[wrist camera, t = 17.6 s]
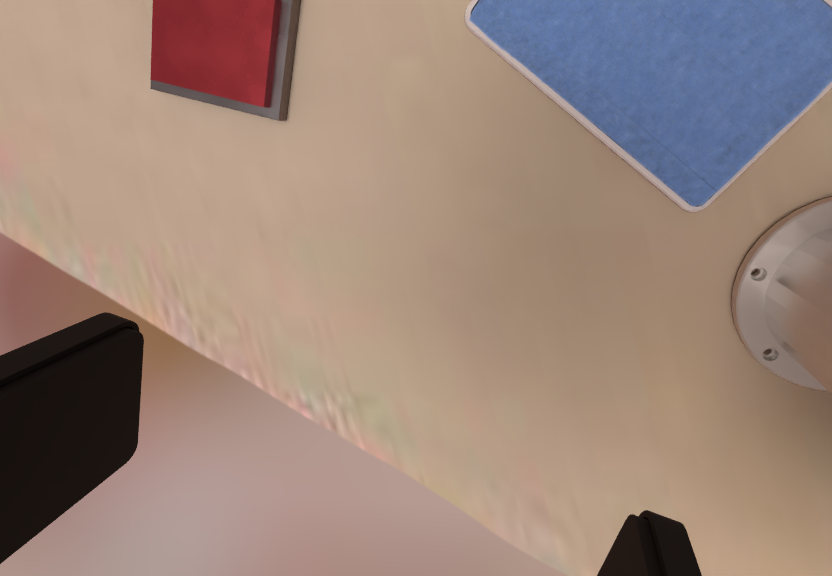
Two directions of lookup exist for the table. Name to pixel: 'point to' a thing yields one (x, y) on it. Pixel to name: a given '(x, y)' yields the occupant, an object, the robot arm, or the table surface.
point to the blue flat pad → (671, 76)
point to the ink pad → (226, 52)
